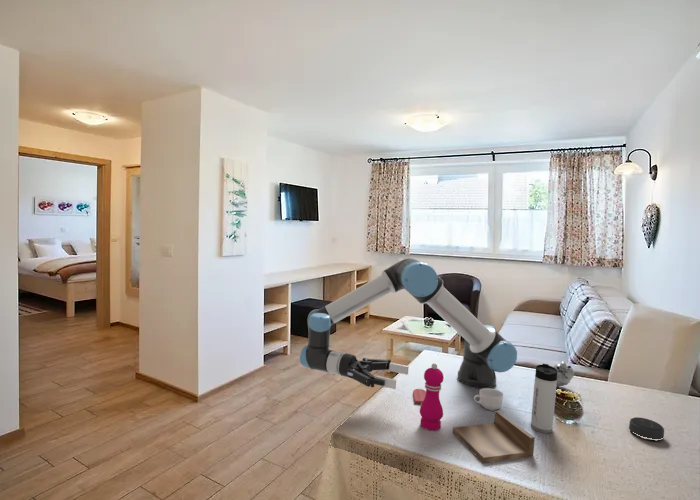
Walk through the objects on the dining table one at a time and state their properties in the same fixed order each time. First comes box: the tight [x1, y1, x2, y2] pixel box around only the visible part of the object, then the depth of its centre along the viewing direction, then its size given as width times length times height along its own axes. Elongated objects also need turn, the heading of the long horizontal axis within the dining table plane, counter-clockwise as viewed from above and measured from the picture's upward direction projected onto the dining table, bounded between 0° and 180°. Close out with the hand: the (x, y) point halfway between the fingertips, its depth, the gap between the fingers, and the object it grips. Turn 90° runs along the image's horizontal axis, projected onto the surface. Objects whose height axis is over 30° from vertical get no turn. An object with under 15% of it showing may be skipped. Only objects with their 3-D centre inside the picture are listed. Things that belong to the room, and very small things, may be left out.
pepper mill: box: [419, 363, 444, 431], centre depth 127 cm, size 7×7×20 cm
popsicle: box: [412, 388, 426, 405], centre depth 146 cm, size 5×2×15 cm
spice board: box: [452, 410, 536, 464], centre depth 119 cm, size 16×16×6 cm
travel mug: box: [530, 363, 558, 434], centre depth 129 cm, size 6×7×20 cm
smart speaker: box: [628, 416, 665, 439], centre depth 129 cm, size 9×9×4 cm
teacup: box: [473, 387, 504, 411], centre depth 142 cm, size 10×8×5 cm
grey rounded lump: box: [553, 361, 575, 387], centre depth 163 cm, size 10×10×12 cm
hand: (402, 377), depth 131 cm, fingers open, 13 cm apart
